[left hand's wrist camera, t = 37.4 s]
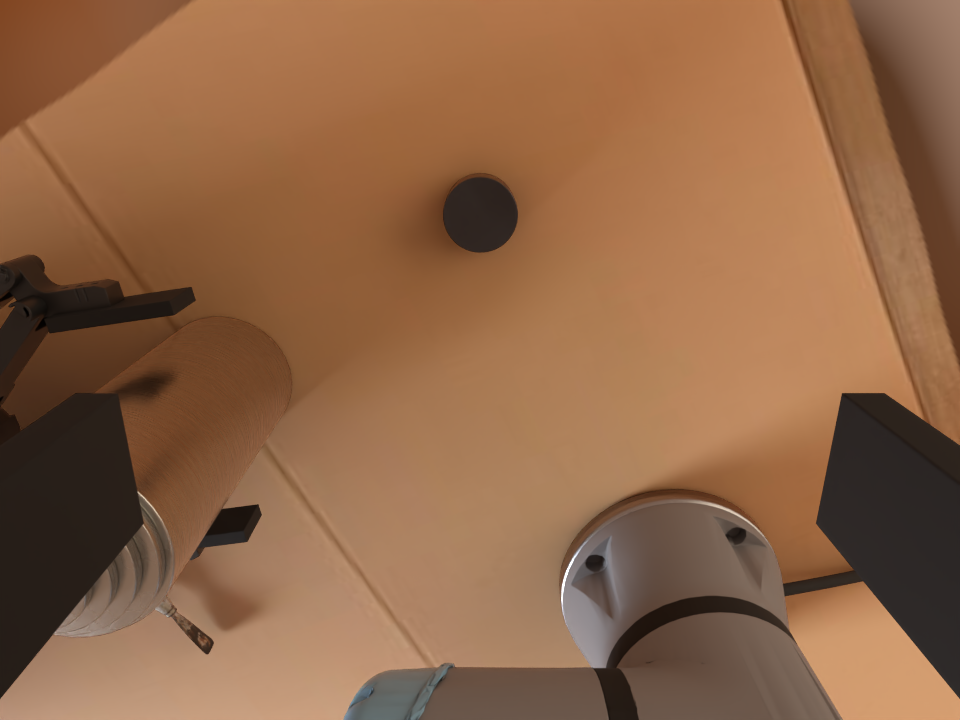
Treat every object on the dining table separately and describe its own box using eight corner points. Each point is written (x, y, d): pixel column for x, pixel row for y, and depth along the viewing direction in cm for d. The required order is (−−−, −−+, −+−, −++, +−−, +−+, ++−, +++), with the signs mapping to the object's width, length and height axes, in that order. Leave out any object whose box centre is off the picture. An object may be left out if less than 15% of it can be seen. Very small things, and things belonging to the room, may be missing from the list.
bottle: (308, 423, 44) (144, 726, 23) (188, 446, 45) (-83, 763, 23) (268, 304, 42) (37, 520, 20) (141, 330, 42) (-219, 568, 20)
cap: (456, 164, 39) (454, 167, 36) (524, 185, 39) (527, 189, 37) (437, 233, 40) (434, 240, 38) (503, 253, 40) (504, 261, 38)
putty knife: (141, 565, 48) (129, 581, 47) (222, 635, 50) (213, 652, 49) (131, 572, 48) (119, 588, 47) (212, 642, 51) (203, 659, 49)
